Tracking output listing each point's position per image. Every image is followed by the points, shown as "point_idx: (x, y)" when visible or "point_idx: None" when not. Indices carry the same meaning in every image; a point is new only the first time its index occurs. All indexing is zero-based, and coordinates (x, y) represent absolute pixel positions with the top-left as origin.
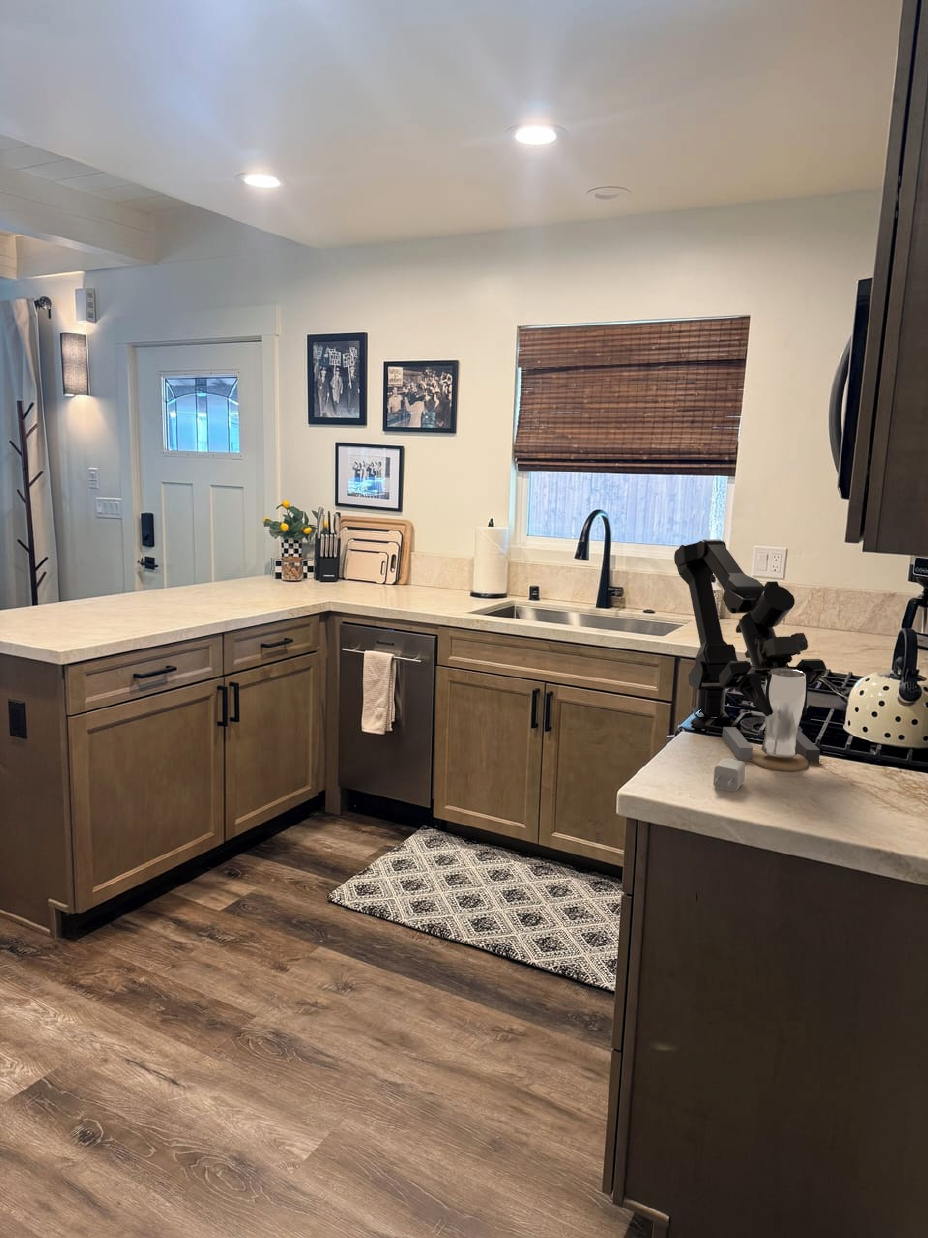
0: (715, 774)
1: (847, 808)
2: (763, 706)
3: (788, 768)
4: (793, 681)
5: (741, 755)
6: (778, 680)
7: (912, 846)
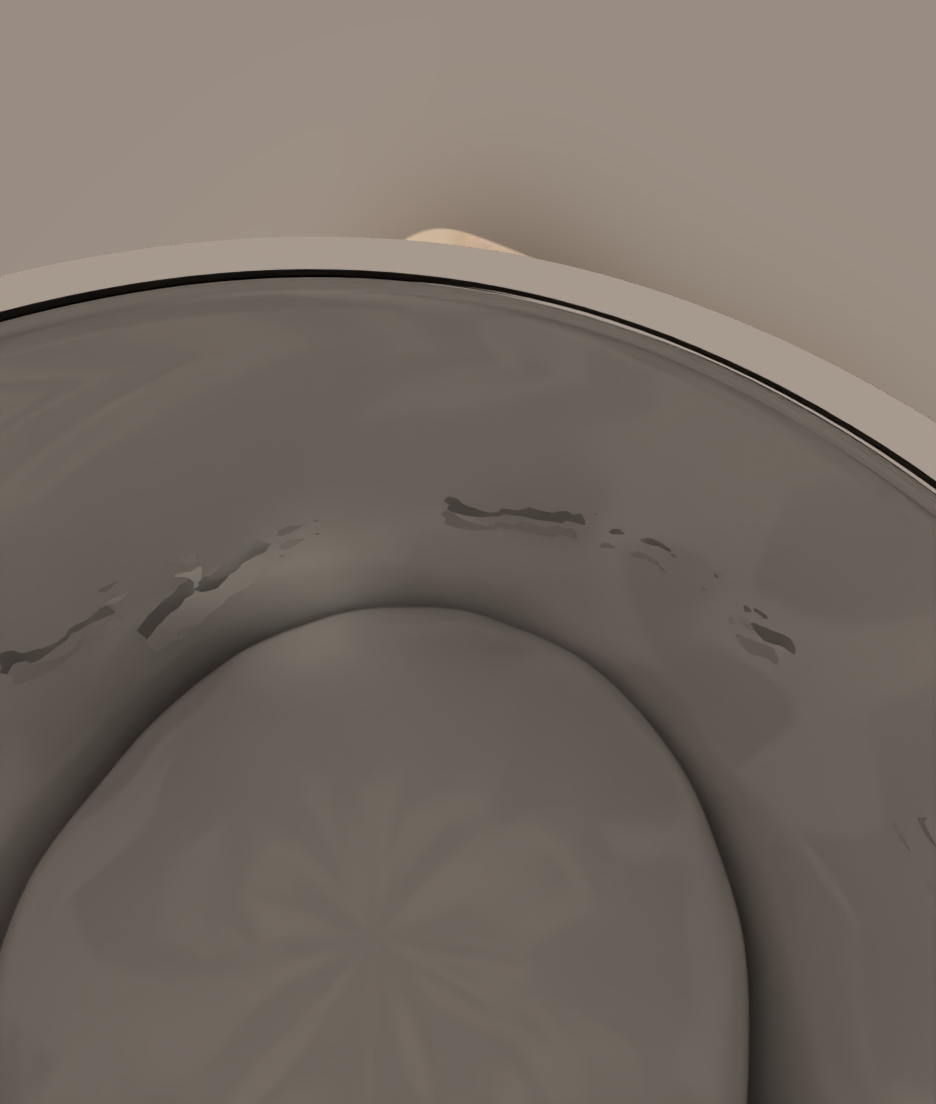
0: None
1: None
2: None
3: None
4: (417, 345)
5: None
6: (797, 503)
7: (419, 240)
